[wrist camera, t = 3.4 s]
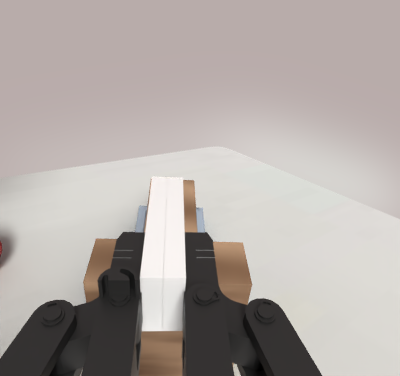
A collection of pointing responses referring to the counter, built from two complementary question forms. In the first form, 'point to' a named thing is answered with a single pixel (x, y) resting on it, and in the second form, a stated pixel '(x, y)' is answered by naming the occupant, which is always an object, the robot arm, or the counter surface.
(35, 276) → the counter surface
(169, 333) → the tee block
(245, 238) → the counter surface
